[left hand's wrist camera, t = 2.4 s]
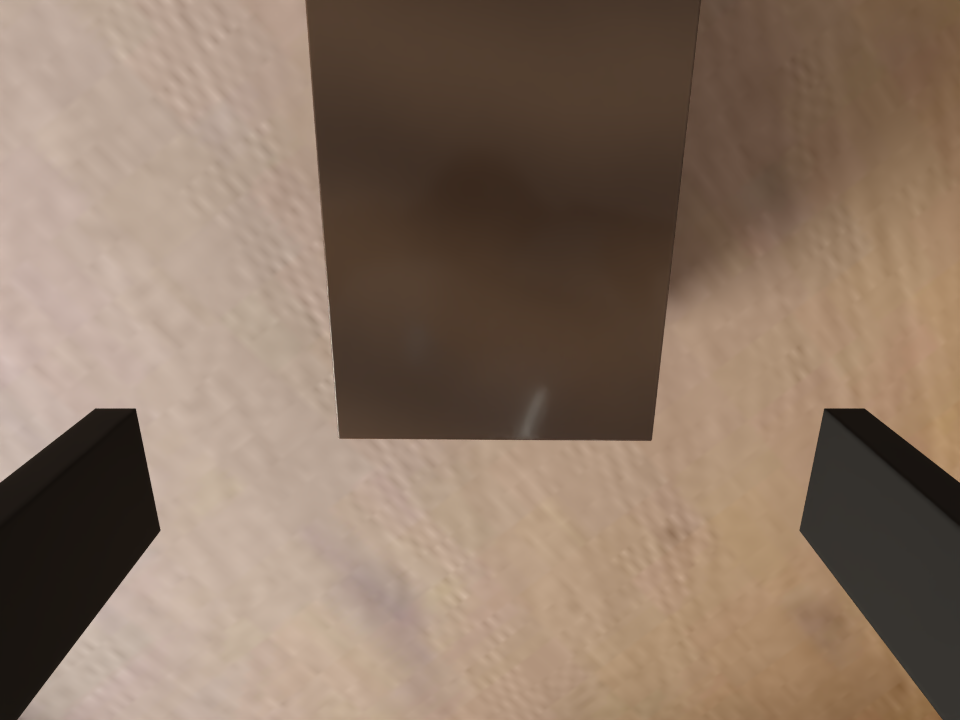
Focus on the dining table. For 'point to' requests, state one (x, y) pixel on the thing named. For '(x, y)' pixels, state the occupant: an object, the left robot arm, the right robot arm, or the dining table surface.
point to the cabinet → (499, 211)
